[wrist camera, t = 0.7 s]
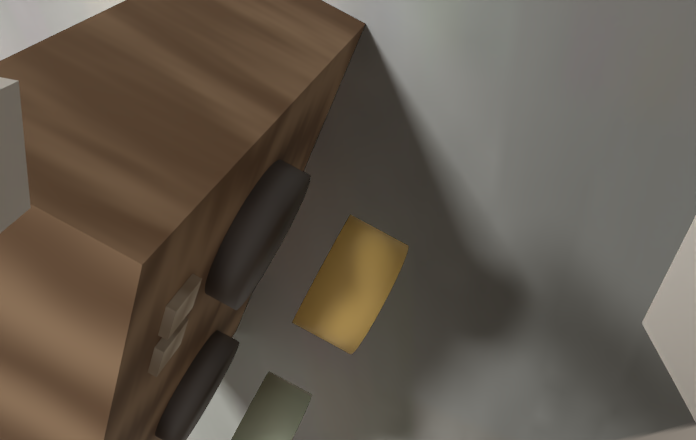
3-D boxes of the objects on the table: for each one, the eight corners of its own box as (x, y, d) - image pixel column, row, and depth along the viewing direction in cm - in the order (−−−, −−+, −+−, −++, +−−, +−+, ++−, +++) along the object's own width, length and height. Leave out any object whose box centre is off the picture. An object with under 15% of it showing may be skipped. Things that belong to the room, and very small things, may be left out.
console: (228, -50, 31) (-124, 120, 16) (391, 37, 31) (192, 291, 16) (148, 284, 49) (-54, 514, 34) (252, 340, 49) (95, 596, 34)
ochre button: (362, 192, 28) (320, 267, 24) (419, 223, 28) (387, 303, 24) (322, 268, 32) (280, 345, 28) (373, 295, 32) (338, 376, 28)
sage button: (277, 354, 37) (235, 430, 33) (320, 378, 37) (284, 456, 33) (254, 399, 41) (213, 473, 37) (293, 421, 41) (257, 496, 37)
